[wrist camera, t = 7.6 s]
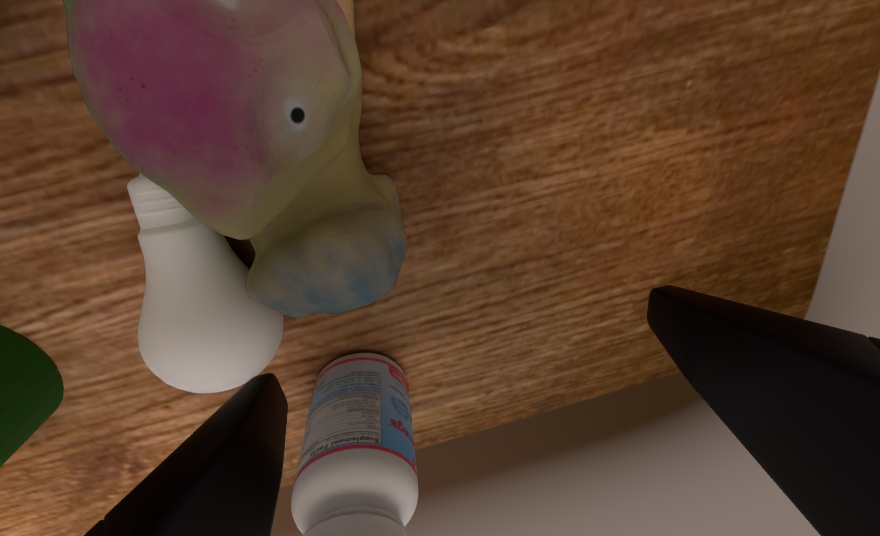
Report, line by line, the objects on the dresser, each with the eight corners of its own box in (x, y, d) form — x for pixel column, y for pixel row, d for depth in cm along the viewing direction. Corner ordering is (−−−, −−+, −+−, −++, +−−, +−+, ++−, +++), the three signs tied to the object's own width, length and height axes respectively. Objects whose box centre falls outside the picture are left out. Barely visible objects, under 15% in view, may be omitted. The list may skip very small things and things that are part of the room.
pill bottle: (409, 411, 27) (429, 601, 17) (321, 422, 27) (290, 627, 17) (404, 343, 25) (425, 520, 15) (307, 353, 24) (259, 548, 14)
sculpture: (433, 248, 22) (472, 361, 13) (293, 293, 22) (237, 437, 13) (333, -69, 15) (275, -277, 6) (130, -6, 15) (-216, -129, 6)
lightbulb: (260, 148, 19) (317, 347, 22) (157, 168, 20) (226, 352, 23) (150, 154, 13) (251, 421, 16) (16, 180, 14) (134, 423, 17)
